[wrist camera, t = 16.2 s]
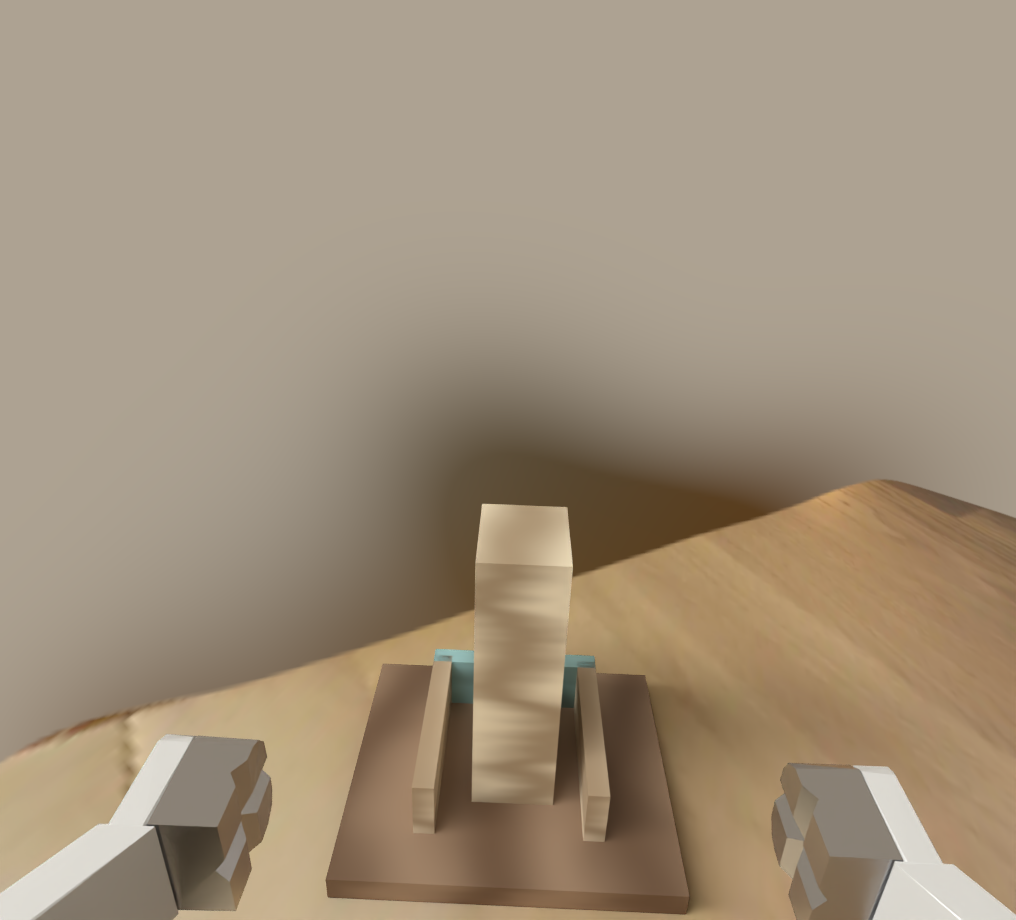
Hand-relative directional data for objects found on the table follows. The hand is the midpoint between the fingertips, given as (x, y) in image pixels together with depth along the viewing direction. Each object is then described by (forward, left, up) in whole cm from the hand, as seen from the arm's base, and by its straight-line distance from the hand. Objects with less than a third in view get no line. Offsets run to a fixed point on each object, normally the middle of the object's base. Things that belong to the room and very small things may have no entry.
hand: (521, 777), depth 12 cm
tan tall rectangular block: (0, -20, -22) cm, 29 cm away
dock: (0, -20, -23) cm, 30 cm away
